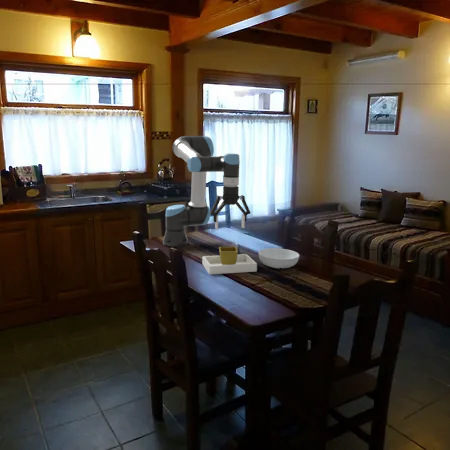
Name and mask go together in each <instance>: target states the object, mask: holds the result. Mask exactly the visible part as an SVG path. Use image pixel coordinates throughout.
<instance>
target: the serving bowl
mask: <svg viewBox="0 0 450 450" xmlns="http://www.w3.org/2000/svg"><path fill="white" fill-rule="evenodd" d="M258 258H259V260H260V262H261V263H262V264H263V265H265V266H267V267H270V268H273V269H280V268H281V269H288V268H291V267H294V266H295V265H296V264H297V263H298V261H299V259H300V254H299V253H298V252H297V251H294V250H291V249H287V248H286V249H285V248H276V247H272V248H271V247H270V248H269V247H268V248H264V249H261V250H259V251H258Z"/></svg>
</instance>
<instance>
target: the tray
mask: <svg viewBox="0 0 450 450" xmlns="http://www.w3.org/2000/svg"><path fill="white" fill-rule="evenodd" d="M201 259H202V260H201V262H202V266H203V267H204V268H205V270H206V271H207V273H208V275H219V274H220V275H221V274H235V273H237V274H238V273H249V272H250V273H251V272H252V273H253V272H257V270H258V263H257V262H256V261H255V260H254V259H252V258H251V257H250V256H249V255H248V254H247V253H243V254H237V261H236V264H231V265H222V263H221V259H220V255H204V256H202V258H201Z"/></svg>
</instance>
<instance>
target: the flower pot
mask: <svg viewBox="0 0 450 450" xmlns="http://www.w3.org/2000/svg"><path fill="white" fill-rule="evenodd" d="M218 249H219V250H218V251H219V256H220V259H221V263H222V265H231V264H236V261H237V255H239V254H238V253H239V252H238V249H237V247H236V246H219V247H218Z"/></svg>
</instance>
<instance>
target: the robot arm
mask: <svg viewBox="0 0 450 450" xmlns="http://www.w3.org/2000/svg"><path fill="white" fill-rule="evenodd" d="M213 142H214V141H213V140H212V138H211V137H209V136H204V135H183V136H180V137H178V138H177V139H175V140H174V142H173V143H172V152H173V154H174V155H175V156H177V157H178V158H181V159H182V160H184V162H185V163H187V165H186V167H187V170H188V171H189V172H191V186H190V187H191V188H190V189H191V191H190V193H191V194H190V201H189V202H188V203H187V204H188V205H187V206H186V205H185V204H174V205H173V204H172V205H170V206H167V208H166V209H165V233H164V236H163V238H162V244H163V246H166V245H167V246H166V247H175V248H177V247H178V248H179V247H183V246H187V245H188V244H189V239H188V236H187V233H186V227H194V226H195V227H196V226H197V227H199V226H204V225H207V224H208V223H209V222H210V218H211V216H213V219H212V220H213V223H215V224H214V226H215V227H214V228H215V229H216V230H219V213H220V212H221V211H222V210H223V209H224V208H225V206H230V205H232V206H234V205H236V206H237V208H238V209H239V210H240V211H241V213H242V214H241V228H242V229H245V223H246V222H247V220H248V219H247V217H248V216H249V215H250V214H251V211H250V208H249V206H248V204H247V201H246V197H245V195H243V194H241V195H240V194H239V185H240V183H239V182H240V163H241V160H240V154H239V153H225V154H224V155H219V156H214V153H215V152H214V151H215V147H214V143H213ZM214 172H215V173H216V172H217V173H218V172H220V173H221V172H223V187H222V189H223V192H222V195H219V194H217V195H216V200H215V202H214V203H213V205H212V207H211V208H210V207H209V206H208V203H207V202H206V191H207V190H206V188H207V187H206V186H207V173H214ZM221 200H222V202H221V204H219V203H220V201H221ZM239 200H241V202H242V204H243V207H244V208H243V207H242V205H241V204H240V202H238V201H239ZM218 205H219V206H218Z"/></svg>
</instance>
